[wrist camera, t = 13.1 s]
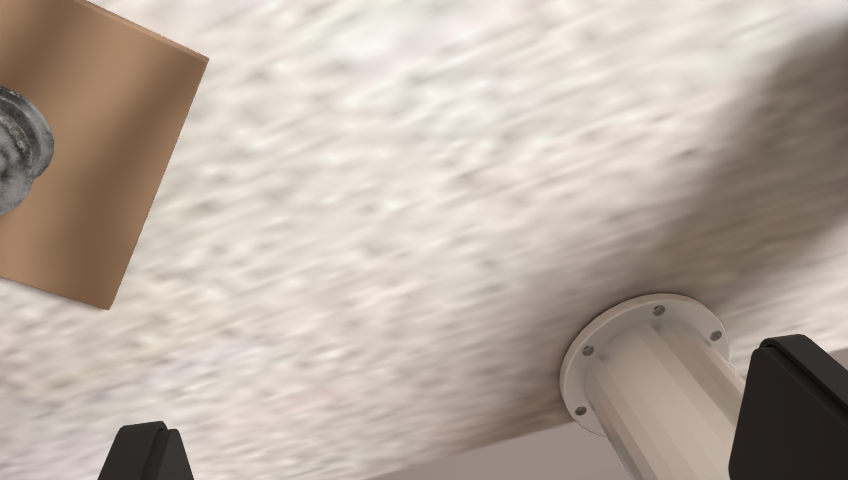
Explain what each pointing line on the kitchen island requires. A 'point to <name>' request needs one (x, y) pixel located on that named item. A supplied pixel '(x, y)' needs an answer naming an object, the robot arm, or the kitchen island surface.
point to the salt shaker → (21, 147)
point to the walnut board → (90, 140)
